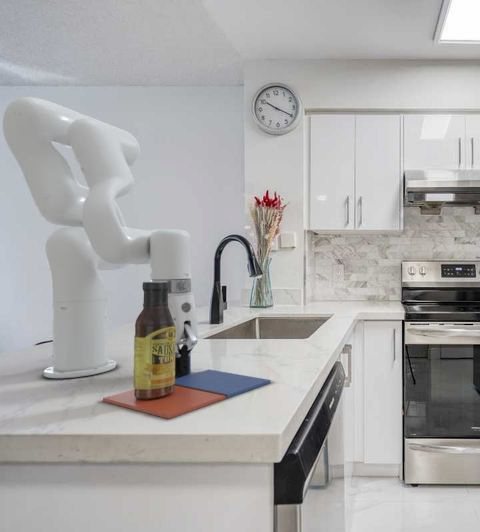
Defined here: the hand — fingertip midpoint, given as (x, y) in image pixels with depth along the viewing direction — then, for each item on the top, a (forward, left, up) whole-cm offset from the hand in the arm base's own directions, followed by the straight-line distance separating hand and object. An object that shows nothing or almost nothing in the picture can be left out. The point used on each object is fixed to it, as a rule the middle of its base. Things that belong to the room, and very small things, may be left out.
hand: (172, 373), depth 88 cm
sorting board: (+14, -6, 0) cm, 15 cm away
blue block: (0, 0, 0) cm, 0 cm away
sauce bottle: (+12, -11, 0) cm, 16 cm away
